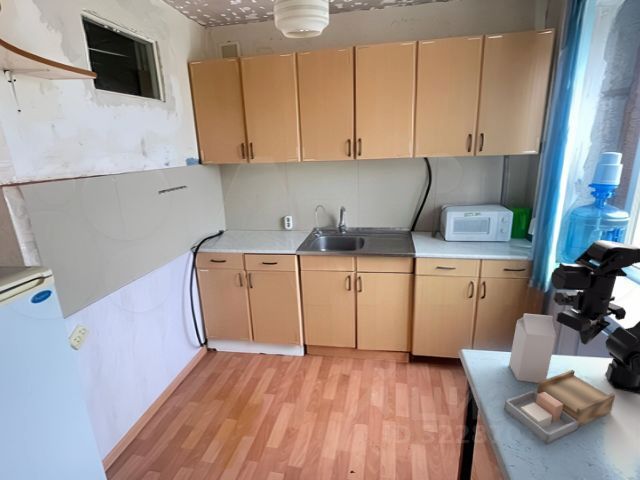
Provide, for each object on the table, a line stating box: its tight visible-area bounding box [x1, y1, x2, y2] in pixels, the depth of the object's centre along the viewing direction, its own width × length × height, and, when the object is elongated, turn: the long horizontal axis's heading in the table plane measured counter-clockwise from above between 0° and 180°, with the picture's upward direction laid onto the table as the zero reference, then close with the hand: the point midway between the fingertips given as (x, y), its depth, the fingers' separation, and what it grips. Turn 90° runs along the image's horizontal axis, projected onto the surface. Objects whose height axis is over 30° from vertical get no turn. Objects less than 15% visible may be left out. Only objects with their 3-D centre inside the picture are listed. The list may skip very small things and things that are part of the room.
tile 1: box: [520, 403, 552, 428], centre depth 79 cm, size 4×4×2 cm
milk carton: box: [508, 313, 557, 384], centre depth 93 cm, size 7×7×19 cm
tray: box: [503, 390, 579, 445], centre depth 80 cm, size 10×11×2 cm
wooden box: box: [536, 369, 616, 428], centre depth 84 cm, size 13×10×5 cm
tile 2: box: [536, 392, 563, 423], centre depth 81 cm, size 4×4×2 cm
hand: (584, 343), depth 90 cm, fingers closed
